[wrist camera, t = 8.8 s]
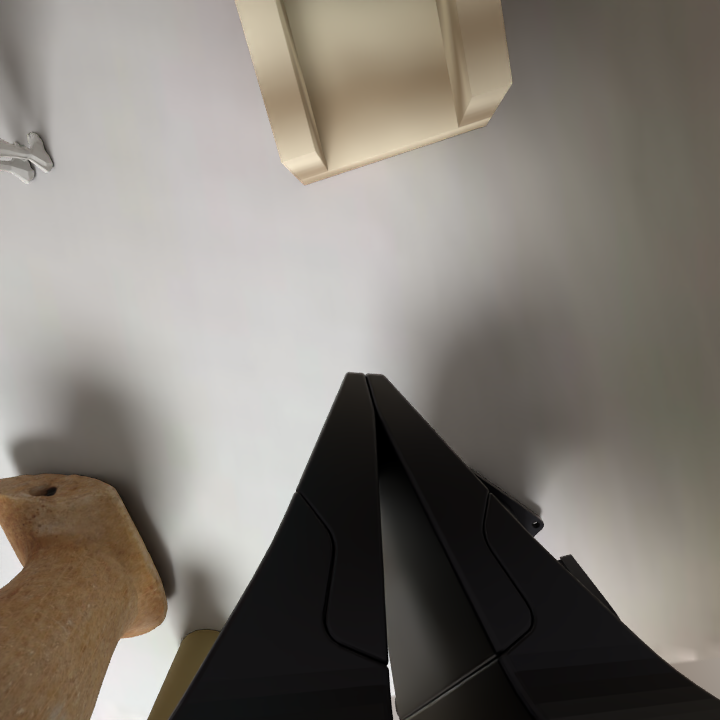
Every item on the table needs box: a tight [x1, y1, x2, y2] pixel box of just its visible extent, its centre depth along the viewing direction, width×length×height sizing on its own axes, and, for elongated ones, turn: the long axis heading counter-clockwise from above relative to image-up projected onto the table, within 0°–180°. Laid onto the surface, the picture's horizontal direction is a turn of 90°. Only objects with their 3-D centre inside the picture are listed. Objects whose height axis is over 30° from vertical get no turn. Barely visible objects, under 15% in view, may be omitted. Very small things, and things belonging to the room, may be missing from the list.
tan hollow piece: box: [0, 473, 167, 720], centre depth 20 cm, size 15×12×15 cm
